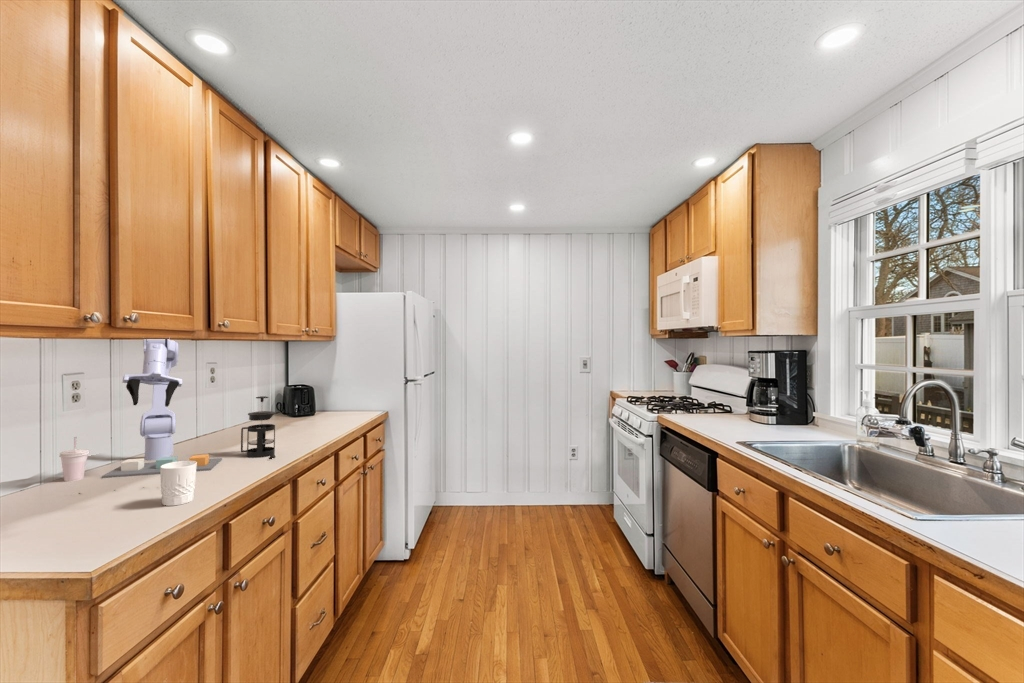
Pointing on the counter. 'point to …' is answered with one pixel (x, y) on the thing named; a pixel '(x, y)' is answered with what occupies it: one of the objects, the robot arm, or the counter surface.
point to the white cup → (178, 482)
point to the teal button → (165, 461)
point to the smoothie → (74, 463)
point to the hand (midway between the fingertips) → (151, 404)
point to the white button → (132, 464)
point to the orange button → (200, 459)
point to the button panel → (151, 469)
